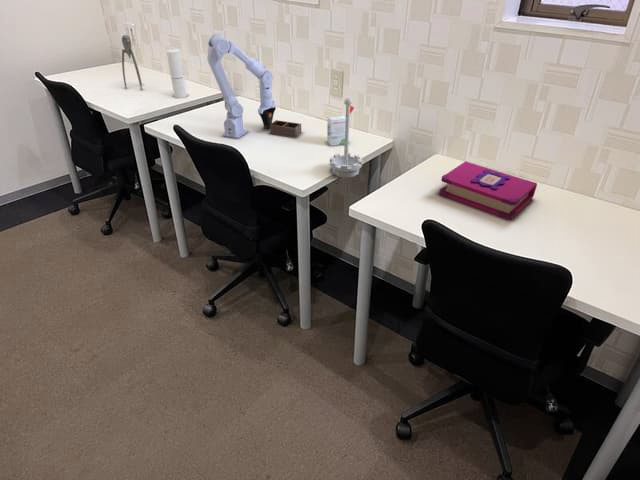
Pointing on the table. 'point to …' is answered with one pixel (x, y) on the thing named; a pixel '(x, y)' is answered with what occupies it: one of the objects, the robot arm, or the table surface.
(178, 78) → the cylindrical container
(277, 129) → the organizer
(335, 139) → the ink box
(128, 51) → the juicer
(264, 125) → the grey and orange cylinder
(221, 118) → the table surface
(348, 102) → the flag stand
